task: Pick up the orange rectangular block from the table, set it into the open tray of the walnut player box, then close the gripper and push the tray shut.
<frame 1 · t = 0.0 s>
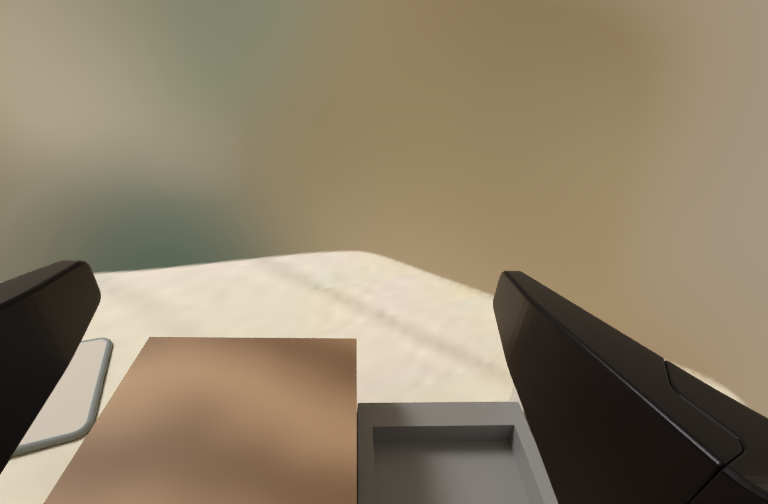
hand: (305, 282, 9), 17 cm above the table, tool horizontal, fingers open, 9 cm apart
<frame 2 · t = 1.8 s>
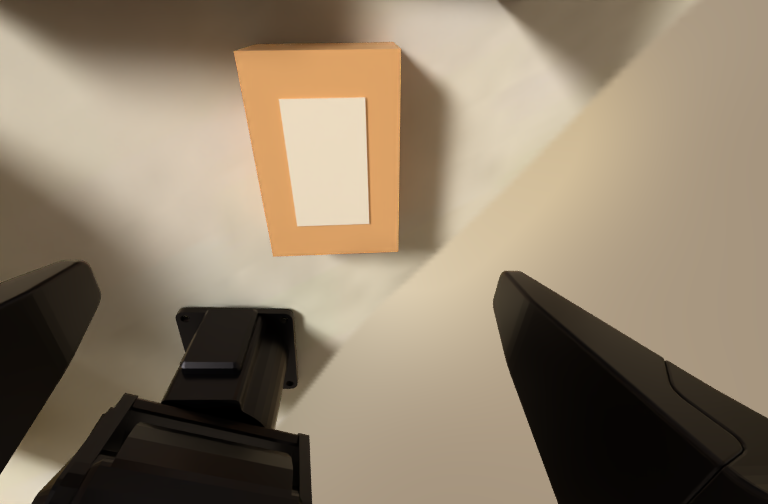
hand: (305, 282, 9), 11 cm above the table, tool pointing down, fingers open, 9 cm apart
orange rectangular block: (333, 140, 18), on the table
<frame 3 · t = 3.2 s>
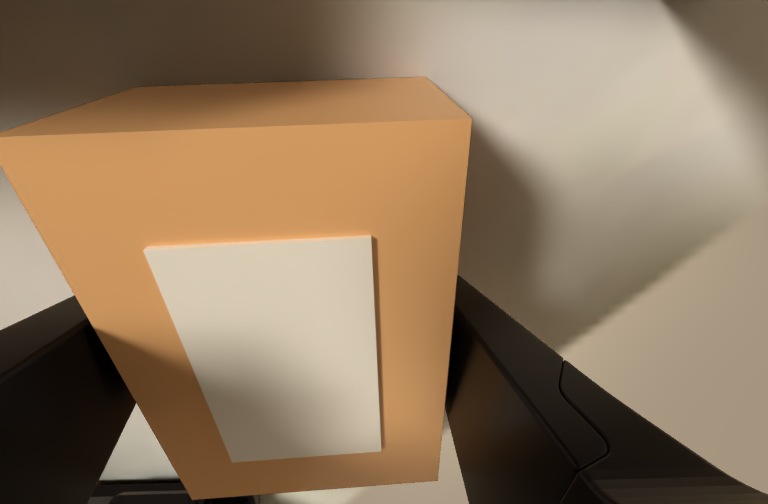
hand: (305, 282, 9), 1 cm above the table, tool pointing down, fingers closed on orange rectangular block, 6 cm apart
orange rectangular block: (309, 257, 9), on the table, touching gripper
when the fingers open (4 cm above the table, at t = 7.4 s): orange rectangular block drops 1 cm, resting on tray.
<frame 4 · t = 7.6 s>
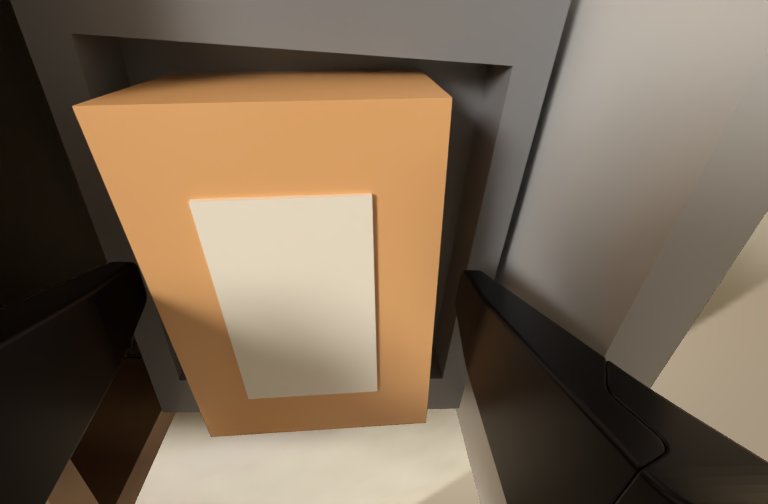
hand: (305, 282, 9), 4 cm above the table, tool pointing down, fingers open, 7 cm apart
orange rectangular block: (315, 228, 11), point 1 cm above the table, touching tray
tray: (342, 272, 9), point 3 cm above the table, slide at 10.1 cm, touching orange rectangular block, gripper
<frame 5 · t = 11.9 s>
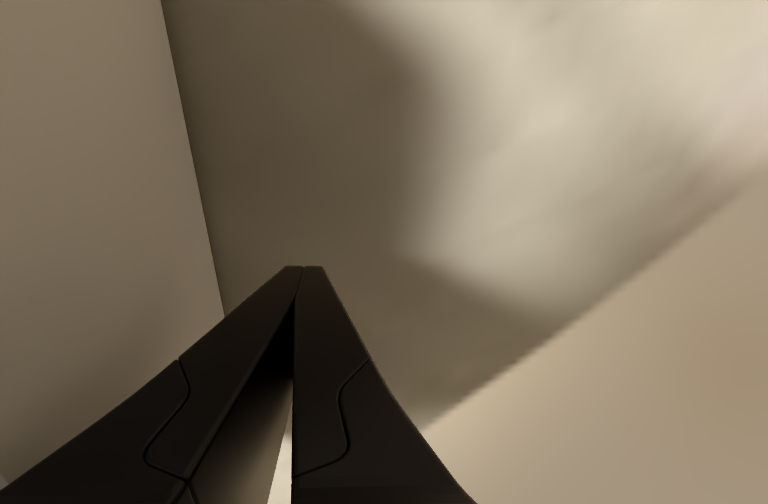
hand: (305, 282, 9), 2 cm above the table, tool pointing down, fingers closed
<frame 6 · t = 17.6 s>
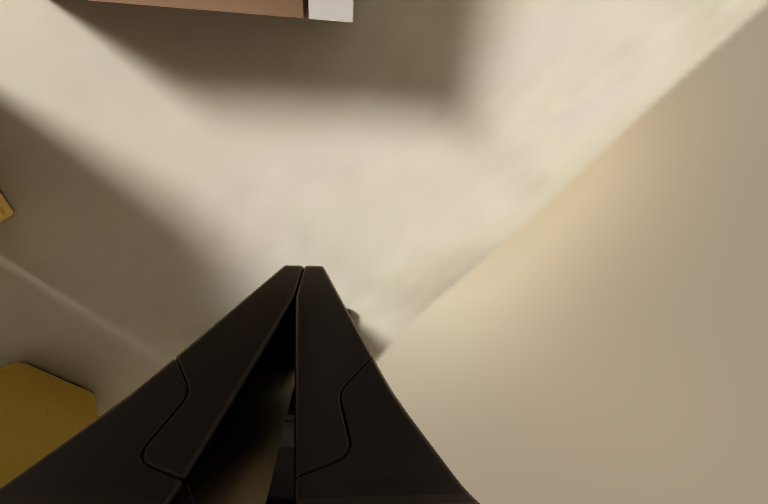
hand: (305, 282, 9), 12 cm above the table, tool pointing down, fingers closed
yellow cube: (47, 390, 27), on the table
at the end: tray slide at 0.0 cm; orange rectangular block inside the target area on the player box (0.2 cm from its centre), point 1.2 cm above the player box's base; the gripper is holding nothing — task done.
